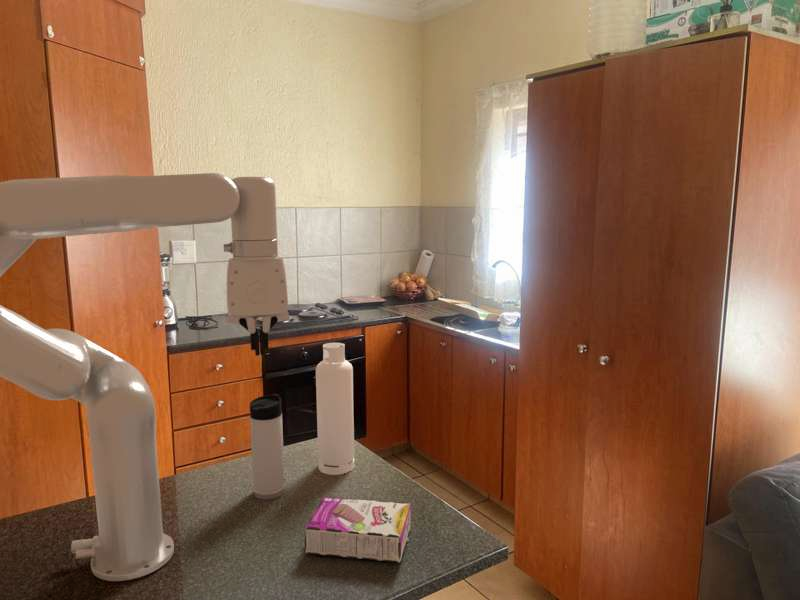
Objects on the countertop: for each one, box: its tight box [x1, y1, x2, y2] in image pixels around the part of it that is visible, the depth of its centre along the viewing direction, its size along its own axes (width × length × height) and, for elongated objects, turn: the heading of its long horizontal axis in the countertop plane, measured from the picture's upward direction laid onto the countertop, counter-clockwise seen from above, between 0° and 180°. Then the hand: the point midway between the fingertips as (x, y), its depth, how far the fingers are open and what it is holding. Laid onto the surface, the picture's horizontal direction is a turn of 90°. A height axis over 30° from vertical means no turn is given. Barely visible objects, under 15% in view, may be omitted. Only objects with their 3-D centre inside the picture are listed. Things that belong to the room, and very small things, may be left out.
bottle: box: [315, 342, 355, 476], centre depth 128 cm, size 8×8×28 cm
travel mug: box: [249, 393, 286, 501], centre depth 117 cm, size 6×7×20 cm
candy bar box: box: [304, 496, 412, 564], centre depth 101 cm, size 11×5×16 cm
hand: (259, 353), depth 103 cm, fingers closed
